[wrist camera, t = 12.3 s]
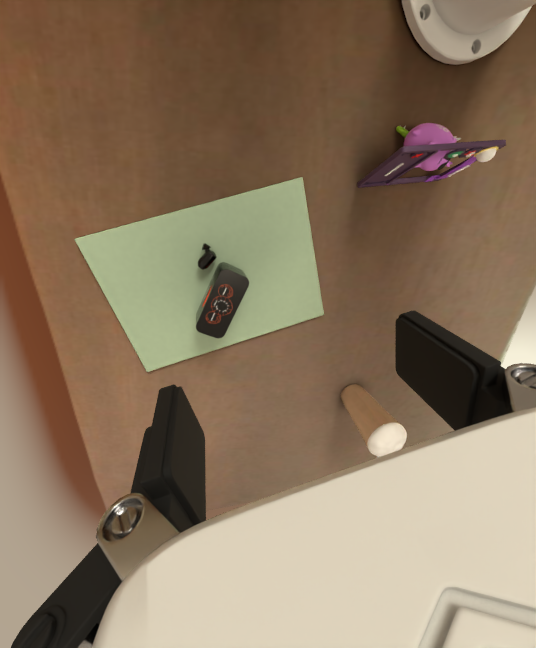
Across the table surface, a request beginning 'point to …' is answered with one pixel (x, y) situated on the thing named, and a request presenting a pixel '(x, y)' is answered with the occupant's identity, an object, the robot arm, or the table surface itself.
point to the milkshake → (373, 421)
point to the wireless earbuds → (219, 296)
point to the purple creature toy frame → (429, 155)
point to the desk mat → (208, 270)
